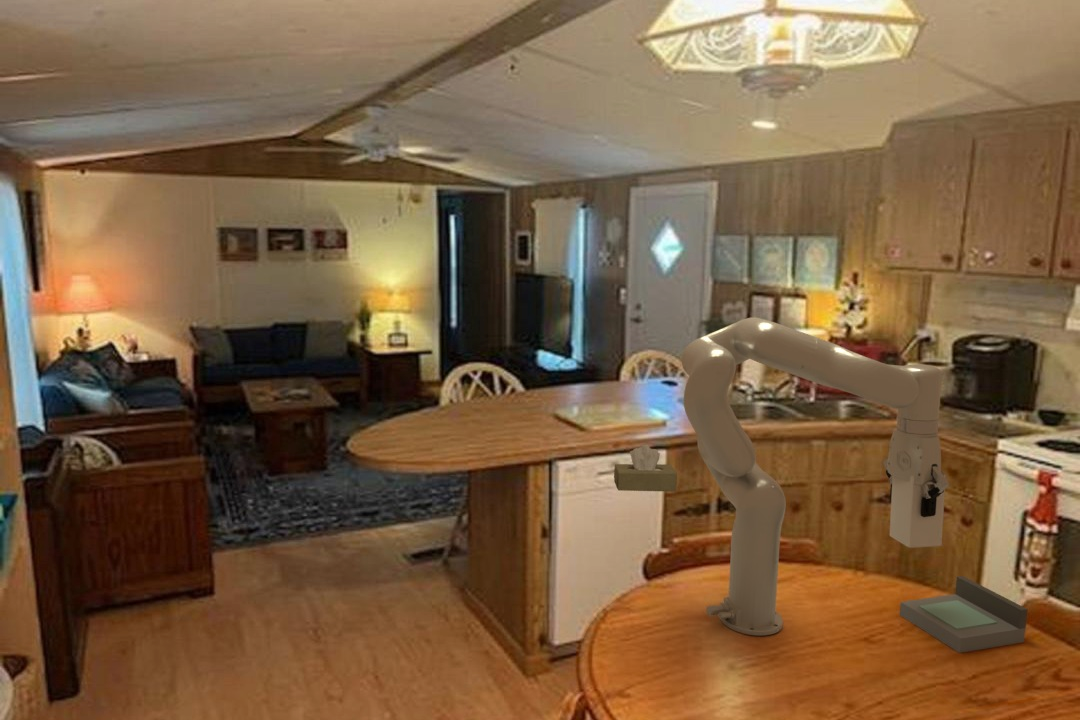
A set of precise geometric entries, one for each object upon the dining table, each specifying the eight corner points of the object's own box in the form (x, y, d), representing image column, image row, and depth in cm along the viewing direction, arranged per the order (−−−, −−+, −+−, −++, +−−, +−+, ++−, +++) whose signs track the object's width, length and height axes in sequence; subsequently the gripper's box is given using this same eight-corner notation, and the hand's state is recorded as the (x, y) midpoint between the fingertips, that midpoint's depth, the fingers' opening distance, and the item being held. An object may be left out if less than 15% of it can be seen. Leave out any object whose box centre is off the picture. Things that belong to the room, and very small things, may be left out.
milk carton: (920, 534, 163) (925, 447, 160) (941, 546, 156) (947, 455, 153) (889, 536, 162) (893, 448, 160) (909, 548, 155) (914, 457, 153)
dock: (959, 652, 149) (962, 619, 148) (899, 615, 164) (902, 584, 163) (1023, 642, 153) (1027, 609, 152) (959, 606, 168) (962, 576, 167)
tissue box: (670, 488, 249) (672, 440, 247) (677, 498, 239) (679, 448, 237) (613, 488, 248) (614, 440, 246) (616, 497, 239) (618, 448, 236)
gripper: (871, 418, 162) (867, 498, 165) (936, 437, 146) (930, 525, 149) (900, 415, 165) (895, 494, 167) (967, 434, 148) (960, 521, 151)
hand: (912, 508), depth 158 cm, fingers closed on milk carton, 7 cm apart
